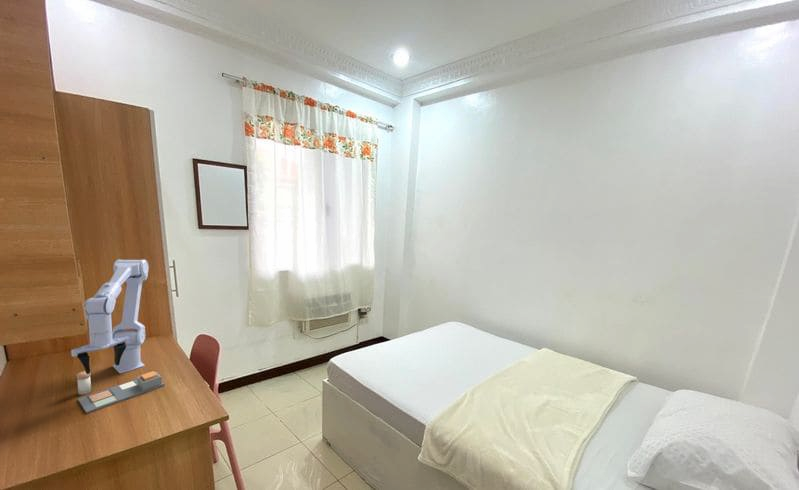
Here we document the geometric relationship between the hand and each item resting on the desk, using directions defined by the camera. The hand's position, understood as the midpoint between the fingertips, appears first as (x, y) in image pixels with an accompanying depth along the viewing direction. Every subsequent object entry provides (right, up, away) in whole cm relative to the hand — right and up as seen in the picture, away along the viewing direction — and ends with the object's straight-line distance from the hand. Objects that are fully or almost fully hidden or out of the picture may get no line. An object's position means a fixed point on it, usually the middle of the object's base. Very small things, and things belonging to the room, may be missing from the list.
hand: (102, 368), depth 110 cm
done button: (+12, -7, +6) cm, 15 cm away
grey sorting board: (+6, -9, +1) cm, 11 cm away
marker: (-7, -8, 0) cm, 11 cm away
